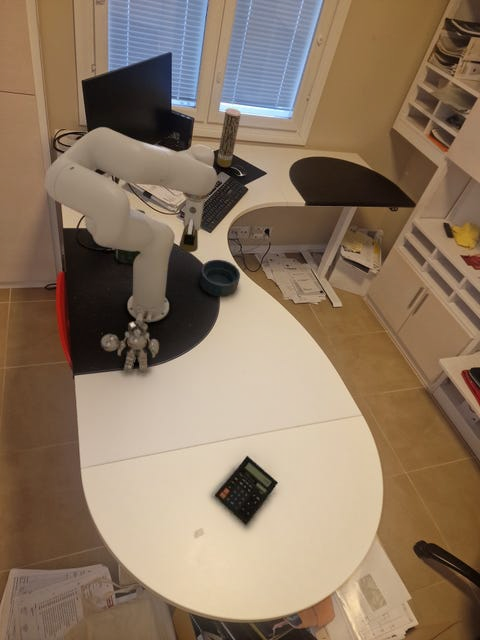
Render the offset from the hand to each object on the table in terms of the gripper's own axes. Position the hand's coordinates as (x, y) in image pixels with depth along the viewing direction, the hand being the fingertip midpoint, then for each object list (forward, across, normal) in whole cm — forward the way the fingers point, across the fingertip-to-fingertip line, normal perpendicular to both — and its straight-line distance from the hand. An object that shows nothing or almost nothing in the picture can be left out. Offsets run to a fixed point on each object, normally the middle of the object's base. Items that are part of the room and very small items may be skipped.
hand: (189, 239), depth 133 cm
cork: (+3, 0, 0) cm, 3 cm away
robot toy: (+13, -42, +10) cm, 45 cm away
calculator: (+13, -73, -23) cm, 78 cm away
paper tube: (+14, +82, -9) cm, 83 cm away
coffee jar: (+13, +2, +19) cm, 23 cm away
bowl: (+13, -4, -12) cm, 18 cm away
